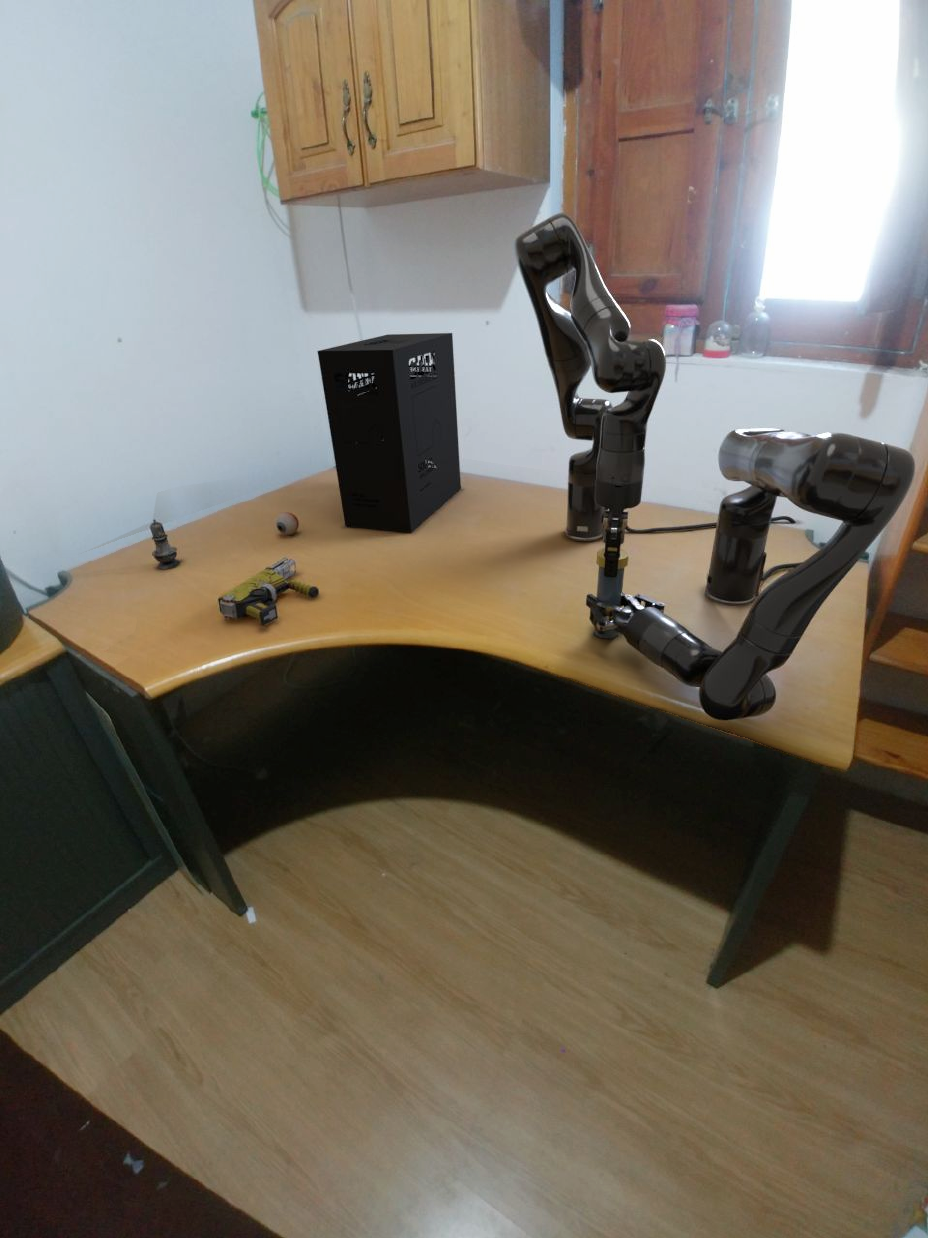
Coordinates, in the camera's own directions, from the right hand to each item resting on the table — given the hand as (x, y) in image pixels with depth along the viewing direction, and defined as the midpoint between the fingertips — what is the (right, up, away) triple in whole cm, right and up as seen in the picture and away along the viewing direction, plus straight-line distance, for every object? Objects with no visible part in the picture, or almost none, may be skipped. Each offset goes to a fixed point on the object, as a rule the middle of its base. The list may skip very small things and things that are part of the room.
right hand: (599, 595), depth 112 cm
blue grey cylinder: (+1, -7, +1) cm, 7 cm away
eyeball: (-73, +19, +53) cm, 92 cm away
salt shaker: (-99, +9, +39) cm, 107 cm away
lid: (+1, +7, -7) cm, 10 cm away
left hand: (+1, +5, -5) cm, 7 cm away
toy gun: (-65, 0, +20) cm, 68 cm away
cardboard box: (-42, +29, +68) cm, 85 cm away
